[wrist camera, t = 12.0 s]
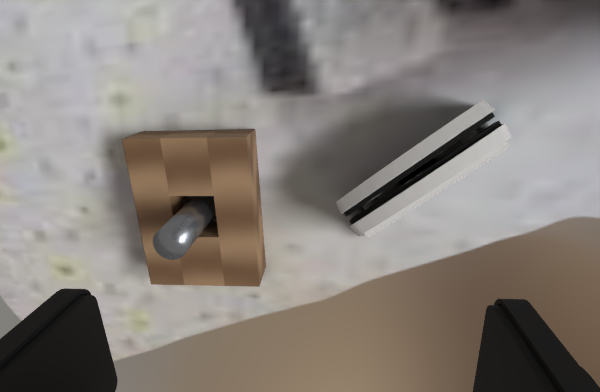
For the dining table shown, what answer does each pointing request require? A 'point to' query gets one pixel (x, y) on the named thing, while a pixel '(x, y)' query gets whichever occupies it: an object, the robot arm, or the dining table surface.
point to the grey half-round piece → (447, 170)
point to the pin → (184, 227)
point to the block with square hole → (200, 182)
